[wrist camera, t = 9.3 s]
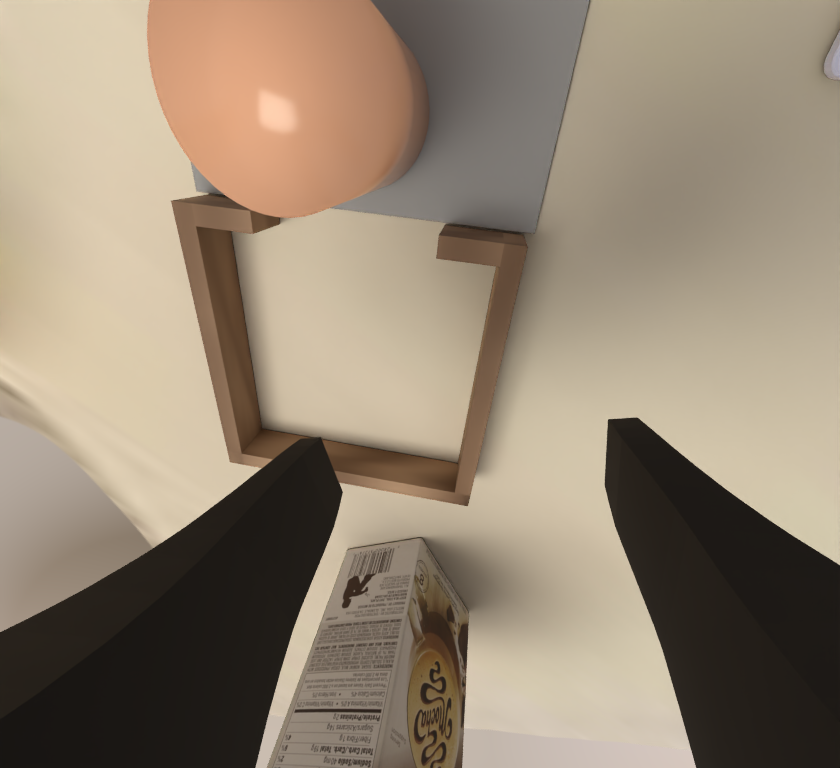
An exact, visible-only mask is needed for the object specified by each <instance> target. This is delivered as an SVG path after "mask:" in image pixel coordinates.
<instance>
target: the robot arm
mask: <svg viewBox="0 0 840 768" xmlns="http://www.w3.org/2000/svg"><path fill="white" fill-rule="evenodd" d="M824 73H825V74H826V76H827V77H828V78H830V79H833V80H840V31H839V33H838V35H837V37H836V39H835V41H834V43H833V45H832V47H831V49H830V51H829V53H828V55H827V57H826V60H825V63H824ZM605 488H606V492H607V496H608V500H609V504H610V508H611V512H612V516H613V520H614V523H615V527H616V529H617V532H618V535H619V537H620V540H621V542H622V545H623V548H624V550H625V553H626V555H627V558H628V561H629V563H630V566H631V568H632V571H633V573H634V576H635V578H636V581H637V583H638V586H639V588H640V591H641V594H642V596H643V599H644V601H645V604H646V606H647V609H648V611H649V614H650V616H651V619H652V622H653V624H654V627H655V630H656V633H657V635H658V638H659V641H660V644H661V647H662V650H663V653H664V656H665V660H666V663H667V667H668V670H669V673H670V677H671V680H672V684H673V687H674V690H675V694H676V697H677V701H678V704H679V708H680V711H681V715H682V718H683V722H684V726H685V729H686V733H687V736H688V740H689V743H690V747H691V751H692V754H693V758H694V761H695V765H696V768H840V565H838V564H837V563H835V562H834V561H832V560H830V559H829V558H827V557H826V556H824V555H822V554H821V553H819V552H818V551H816V550H814V549H813V548H811V547H810V546H808V545H806V544H805V543H803V542H802V541H800V540H798V539H797V538H795V537H794V536H792V535H791V534H789V533H788V532H786V531H785V530H783V529H782V528H780V527H779V526H777V525H775V524H774V523H773V522H771V521H770V520H768V519H767V518H765V517H764V516H762V515H761V514H760V513H758V512H757V511H755V510H754V509H753V508H751V507H750V506H748V505H747V504H745V503H744V502H743V501H741V500H740V499H738V498H737V497H736V496H734V495H733V494H731V493H730V492H729V491H727V490H726V489H725V488H723V487H722V486H721V485H719V484H718V483H717V482H716V481H714V480H713V479H712V478H710V477H709V476H708V475H707V474H705V473H704V472H703V471H702V470H700V469H699V468H698V467H696V466H695V465H694V464H693V463H691V462H690V461H689V460H688V459H686V458H685V457H684V456H683V455H682V454H680V453H679V452H678V451H677V450H676V449H674V448H673V447H672V446H671V445H670V444H668V443H667V442H666V441H665V440H664V439H662V438H661V437H660V436H659V435H658V434H657V433H655V432H654V431H653V430H652V429H651V428H649V427H648V426H647V425H646V424H645V423H643V422H642V421H641V420H640V419H639V418H623V419H608V431H607V450H606V469H605ZM342 493H343V491H342V489H341V486H340V484H339V481H338V479H337V476H336V474H335V471H334V469H333V466H332V464H331V461H330V459H329V456H328V454H327V451H326V449H325V446H324V444H323V441H322V439H321V437H318V438H302V439H299V440H298V441H297V442H295V443H294V444H292V445H291V446H290V447H288V448H287V449H286V450H284V451H283V452H282V453H280V454H279V455H278V456H277V457H275V458H274V459H273V460H272V461H270V462H269V463H268V464H267V465H265V466H264V467H263V468H262V469H260V470H259V471H258V472H257V473H255V474H254V475H253V476H252V477H250V478H249V479H248V480H247V481H245V482H244V483H243V484H242V485H241V486H239V487H238V488H237V489H236V490H234V491H233V492H232V493H230V494H229V495H228V496H226V497H225V498H224V499H222V500H221V501H220V502H218V503H217V504H216V505H214V506H213V507H212V508H210V509H209V510H208V511H206V512H205V513H204V514H202V515H201V516H200V517H198V518H197V519H196V520H194V521H193V522H192V523H190V524H189V525H187V526H186V527H185V528H183V529H182V530H180V531H179V532H177V533H176V534H174V535H173V536H171V537H170V538H168V539H167V540H165V541H164V542H162V543H161V544H159V545H158V546H156V547H155V548H153V549H152V550H150V551H148V552H147V553H145V554H144V555H142V556H140V557H139V558H137V559H136V560H134V561H132V562H130V563H129V564H127V565H125V566H124V567H122V568H121V569H118V570H117V571H115V572H113V573H112V574H110V575H108V576H107V577H105V578H103V579H101V580H100V581H98V582H96V583H95V584H93V585H91V586H89V587H88V588H86V589H84V590H82V591H80V592H79V593H77V594H75V595H73V596H71V597H69V598H67V599H66V600H64V601H62V602H60V603H58V604H56V605H54V606H52V607H50V608H48V609H46V610H44V611H42V612H40V613H38V614H37V615H34V616H32V617H30V618H28V619H26V620H24V621H22V622H21V623H18V624H16V625H14V626H12V627H10V628H8V629H6V630H4V631H2V632H0V768H255V767H256V763H257V759H258V754H259V751H260V746H261V742H262V738H263V734H264V730H265V726H266V722H267V718H268V714H269V711H270V707H271V703H272V700H273V696H274V693H275V689H276V685H277V682H278V678H279V675H280V671H281V668H282V664H283V661H284V658H285V654H286V651H287V648H288V645H289V641H290V638H291V635H292V631H293V628H294V626H295V623H296V620H297V617H298V615H299V612H300V609H301V607H302V604H303V602H304V599H305V597H306V594H307V592H308V590H309V587H310V585H311V582H312V580H313V577H314V575H315V573H316V570H317V568H318V565H319V563H320V560H321V558H322V556H323V553H324V551H325V548H326V546H327V543H328V541H329V538H330V536H331V533H332V530H333V528H334V524H335V521H336V517H337V514H338V510H339V506H340V501H341V497H342Z"/></svg>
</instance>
